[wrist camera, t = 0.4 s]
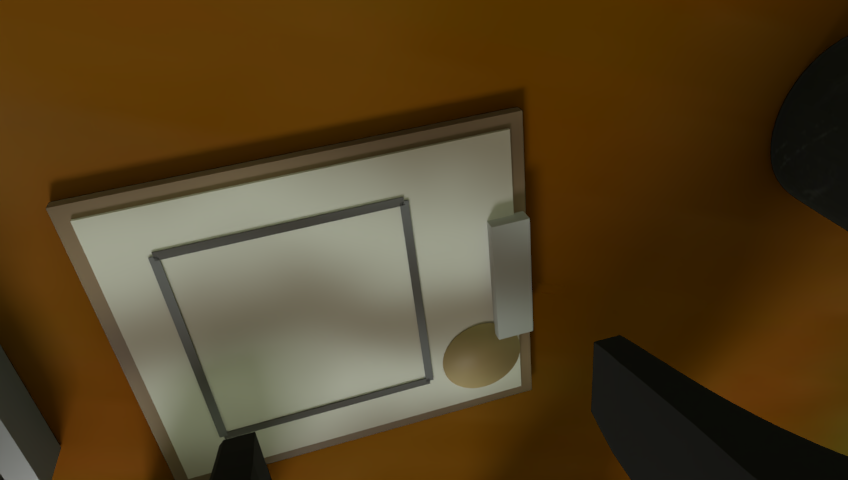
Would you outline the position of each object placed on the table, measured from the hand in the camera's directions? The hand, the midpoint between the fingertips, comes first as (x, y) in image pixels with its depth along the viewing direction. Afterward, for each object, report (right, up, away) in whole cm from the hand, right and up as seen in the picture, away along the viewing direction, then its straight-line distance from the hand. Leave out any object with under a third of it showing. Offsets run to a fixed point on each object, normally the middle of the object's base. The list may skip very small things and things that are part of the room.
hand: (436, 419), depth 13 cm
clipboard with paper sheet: (-3, +1, +10) cm, 11 cm away
